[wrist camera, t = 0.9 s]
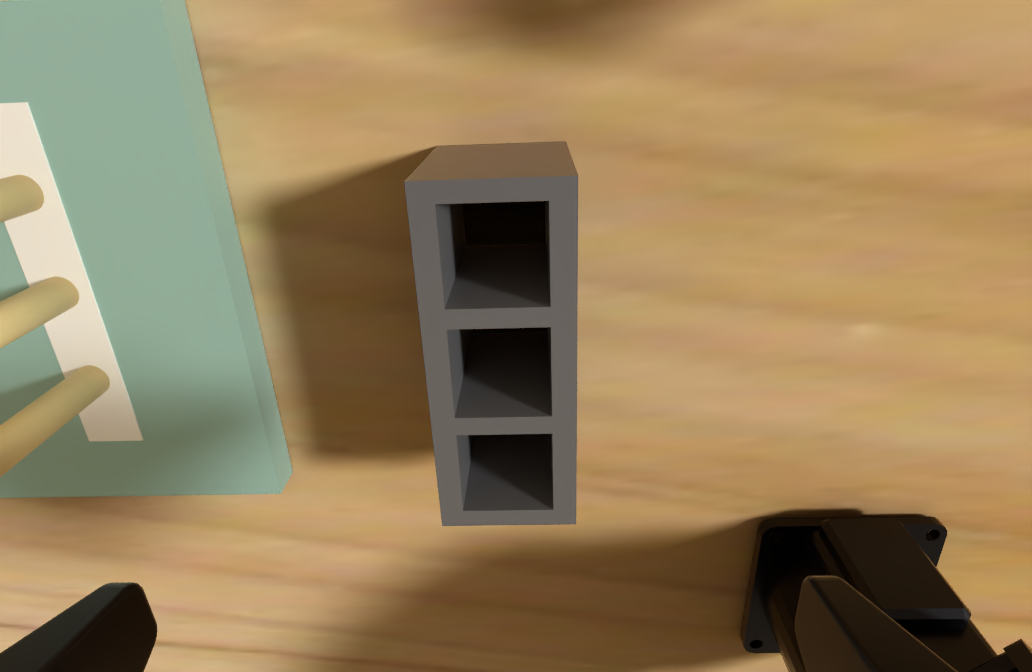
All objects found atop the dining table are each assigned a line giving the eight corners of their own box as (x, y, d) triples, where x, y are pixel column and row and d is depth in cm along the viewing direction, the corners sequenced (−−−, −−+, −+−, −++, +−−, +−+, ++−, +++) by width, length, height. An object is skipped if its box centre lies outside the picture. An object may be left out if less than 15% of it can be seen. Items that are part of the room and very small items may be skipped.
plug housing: (566, 421, 21) (576, 524, 17) (461, 423, 21) (442, 525, 17) (565, 141, 17) (577, 175, 13) (437, 146, 17) (404, 181, 13)
